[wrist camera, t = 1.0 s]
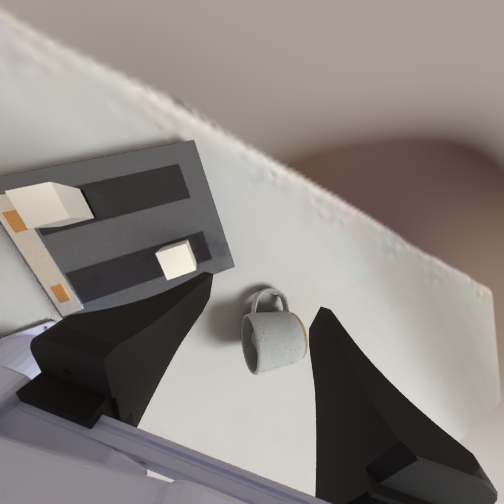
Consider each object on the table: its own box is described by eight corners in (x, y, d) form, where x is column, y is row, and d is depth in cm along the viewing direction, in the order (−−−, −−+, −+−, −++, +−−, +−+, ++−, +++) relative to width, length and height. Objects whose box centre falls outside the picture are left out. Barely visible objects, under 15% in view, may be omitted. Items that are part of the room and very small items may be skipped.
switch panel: (79, 318, 22) (67, 328, 20) (-4, 185, 18) (-30, 181, 16) (232, 263, 26) (235, 266, 24) (194, 146, 22) (193, 139, 20)
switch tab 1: (61, 226, 18) (27, 228, 15) (44, 196, 17) (4, 191, 14) (94, 218, 19) (70, 218, 15) (79, 188, 18) (50, 181, 14)
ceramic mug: (284, 340, 32) (310, 376, 25) (239, 348, 30) (254, 389, 22) (288, 284, 30) (318, 303, 23) (242, 287, 28) (257, 310, 21)
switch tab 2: (172, 270, 22) (167, 280, 18) (162, 247, 21) (155, 253, 18) (196, 261, 23) (196, 270, 19) (187, 239, 22) (185, 243, 18)
